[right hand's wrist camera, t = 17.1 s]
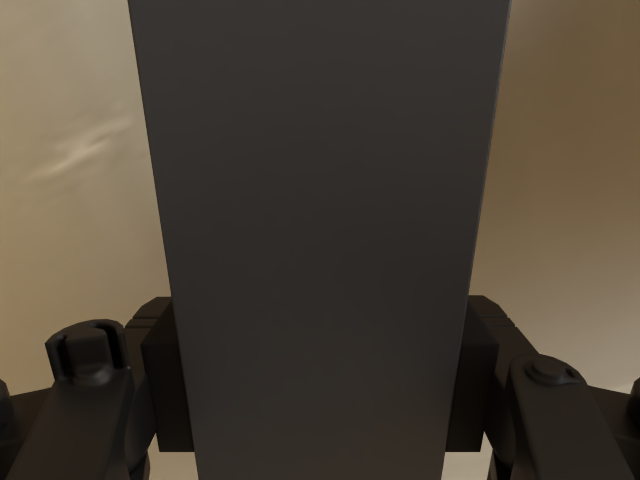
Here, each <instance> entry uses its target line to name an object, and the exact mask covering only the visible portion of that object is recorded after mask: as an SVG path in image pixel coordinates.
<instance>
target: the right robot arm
mask: <svg viewBox="0 0 640 480" xmlns="http://www.w3.org/2000/svg"><path fill="white" fill-rule="evenodd" d="M45 347H46V350H47V354H48V357H49V361H50V365H51V368H52V372H53V375H54V379H55V382H54V383H53V385H52V387H51V388H47V389H43V390H38V391H33V392H28V393H23V394H18V395H14V396H10V395H9V392H8V389H7V386H6V383H5V382H3V381H2V380H1V379H0V480H149V474H150V462H149V456H148V451H147V450H148V447H149V445H150V443H151V441H152V439H153V437H154V435H155V433H156V436H157V441H158V446H159V452H195V451H194V445H193V438H192V431H191V425H190V418H189V411H188V404H187V398H186V391H185V384H184V377H183V371H182V364H181V357H180V350H179V344H178V337H177V330H176V324H175V317H174V310H173V303H172V297H156V298H154V299H153V300H151V301H149V302H148V303H146V304H144V305H143V306H141V308H140V309H139V310H138V311H137V312H136V314H135V315H134V316H133V319H131V320H130V321H129V322H128V323H127V324H126V326H125V329H124V328H123V325H121V324H120V323H119V322H117V321H114V320H109V319H96V320H89V321H85V322H80V323H77V324H74V325H72V326H69V327H66V328H64V329H62V330H61V331H59V332H57V333H56V334H54V335H52V336H51V337H50V338H49V339H48V340H47V341H46V343H45ZM484 431H485V434H486V436H487V438H488V440H489V442H490V444H491V446H492V448H493V451H492V456H491V461H490V466H489V471H488V476H487V480H640V378H638V379H637V380H636V381H634V384H633V387H632V390H631V393H630V394H626V393H621V392H616V391H611V390H606V389H601V388H596V387H592V386H589V385H587V383H586V381H585V379H584V378H583V377H582V376H581V374H580V373H579V372H578V371H577V370H576V369H574V368H573V367H571V366H570V365H568V364H567V363H565V362H563V361H560V360H558V359H556V358H554V357H550V356H546V355H542V354H539V353H538V352H537V351H536V349H535V348H534V347H533V346H532V345H531V343H530V342H529V341H528V340H527V339H526V337H525V336H524V335H523V334H522V333H521V331H520V330H519V329H518V328H517V327H515V324H514V323H513V322H512V321H511V319H510V318H507V315H506V313H505V312H504V311H503V310H502V309H501V308H500V306H499V305H498V304H496V303H494V302H493V301H491V300H490V299H488V298H486V297H485V296H483V295H468V300H467V307H466V314H465V321H464V327H463V334H462V341H461V348H460V354H459V361H458V368H457V375H456V382H455V388H454V395H453V402H452V409H451V415H450V422H449V429H448V436H447V442H446V449H445V452H480V450H481V445H482V439H483V434H484Z"/></svg>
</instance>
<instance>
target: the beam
mask: <svg viewBox="0 0 640 480" xmlns="http://www.w3.org/2000/svg"><path fill="white" fill-rule="evenodd" d="M511 2H512V0H128V7H129V14H130V20H131V27H132V34H133V41H134V47H135V54H136V61H137V68H138V74H139V81H140V88H141V94H142V101H143V108H144V115H145V121H146V128H147V135H148V142H149V148H150V155H151V162H152V169H153V175H154V182H155V189H156V196H157V202H158V209H159V216H160V222H161V229H162V236H163V243H164V249H165V256H166V263H167V270H168V276H169V283H170V290H171V297H172V303H173V310H174V317H175V324H176V330H177V337H178V344H179V350H180V357H181V364H182V371H183V377H184V384H185V391H186V398H187V404H188V411H189V418H190V425H191V431H192V438H193V445H194V451H195V458H196V465H197V472H198V478H199V480H441V476H442V470H443V463H444V456H445V449H446V442H447V436H448V429H449V422H450V415H451V409H452V402H453V395H454V388H455V382H456V375H457V368H458V361H459V354H460V348H461V341H462V334H463V327H464V321H465V314H466V307H467V300H468V294H469V287H470V280H471V273H472V266H473V260H474V253H475V246H476V239H477V233H478V226H479V219H480V212H481V206H482V199H483V192H484V185H485V178H486V172H487V165H488V158H489V151H490V145H491V138H492V131H493V124H494V118H495V111H496V104H497V97H498V90H499V84H500V77H501V70H502V63H503V57H504V50H505V43H506V36H507V30H508V23H509V16H510V9H511Z"/></svg>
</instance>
